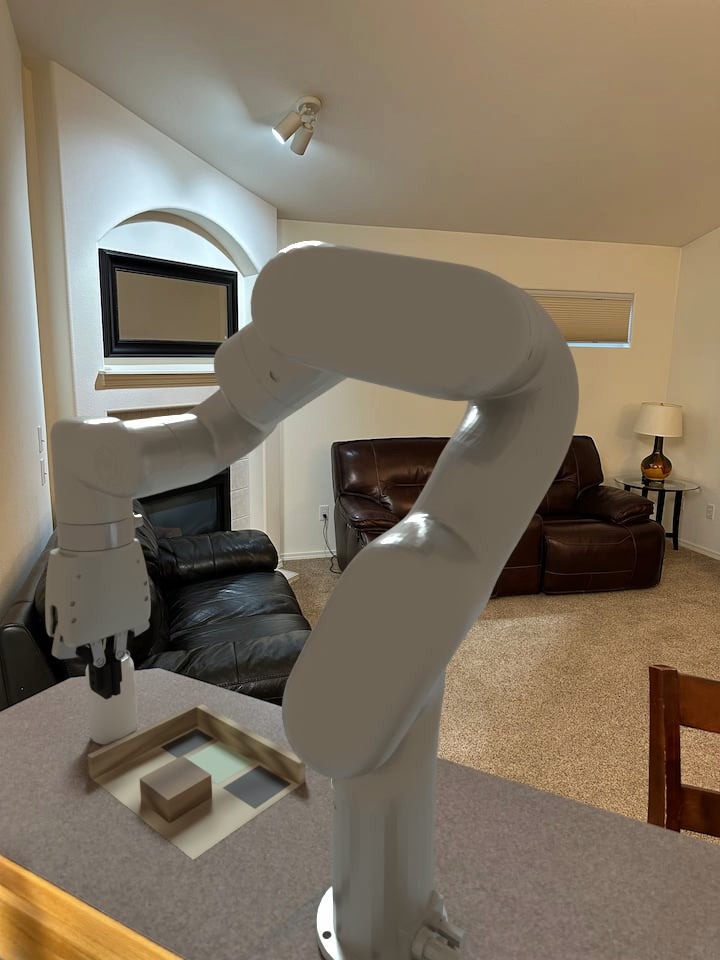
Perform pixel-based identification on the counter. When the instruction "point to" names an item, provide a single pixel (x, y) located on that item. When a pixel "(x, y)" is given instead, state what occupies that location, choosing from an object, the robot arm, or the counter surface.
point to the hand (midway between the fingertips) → (106, 692)
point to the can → (113, 708)
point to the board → (230, 798)
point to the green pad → (220, 761)
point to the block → (175, 788)
